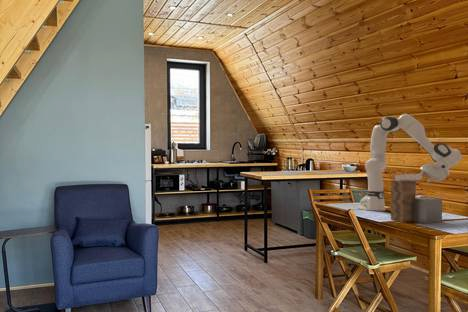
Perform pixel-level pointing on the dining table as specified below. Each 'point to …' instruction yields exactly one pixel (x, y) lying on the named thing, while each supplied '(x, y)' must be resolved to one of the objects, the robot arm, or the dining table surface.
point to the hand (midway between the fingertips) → (423, 178)
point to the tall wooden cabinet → (402, 200)
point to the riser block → (427, 210)
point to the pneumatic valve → (419, 196)
